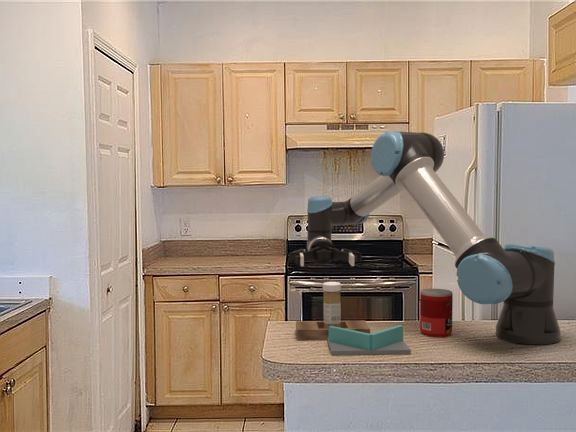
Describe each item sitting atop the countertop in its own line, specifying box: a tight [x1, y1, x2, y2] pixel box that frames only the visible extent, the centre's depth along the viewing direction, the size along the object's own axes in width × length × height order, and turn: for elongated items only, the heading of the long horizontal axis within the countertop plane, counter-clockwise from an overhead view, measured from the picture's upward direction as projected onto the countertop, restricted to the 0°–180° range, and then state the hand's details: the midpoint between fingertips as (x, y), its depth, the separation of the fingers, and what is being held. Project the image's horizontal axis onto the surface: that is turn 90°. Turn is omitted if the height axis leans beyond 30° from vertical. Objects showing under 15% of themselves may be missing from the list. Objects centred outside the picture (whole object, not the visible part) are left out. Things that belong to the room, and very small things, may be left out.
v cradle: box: [326, 324, 412, 356], centre depth 156 cm, size 18×12×4 cm, turn 91°
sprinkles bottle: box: [322, 281, 342, 329], centre depth 168 cm, size 5×5×14 cm
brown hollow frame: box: [295, 319, 371, 341], centre depth 168 cm, size 18×9×3 cm, turn 91°
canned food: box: [419, 288, 454, 338], centre depth 169 cm, size 8×8×11 cm
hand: (327, 261), depth 177 cm, fingers open, 13 cm apart
